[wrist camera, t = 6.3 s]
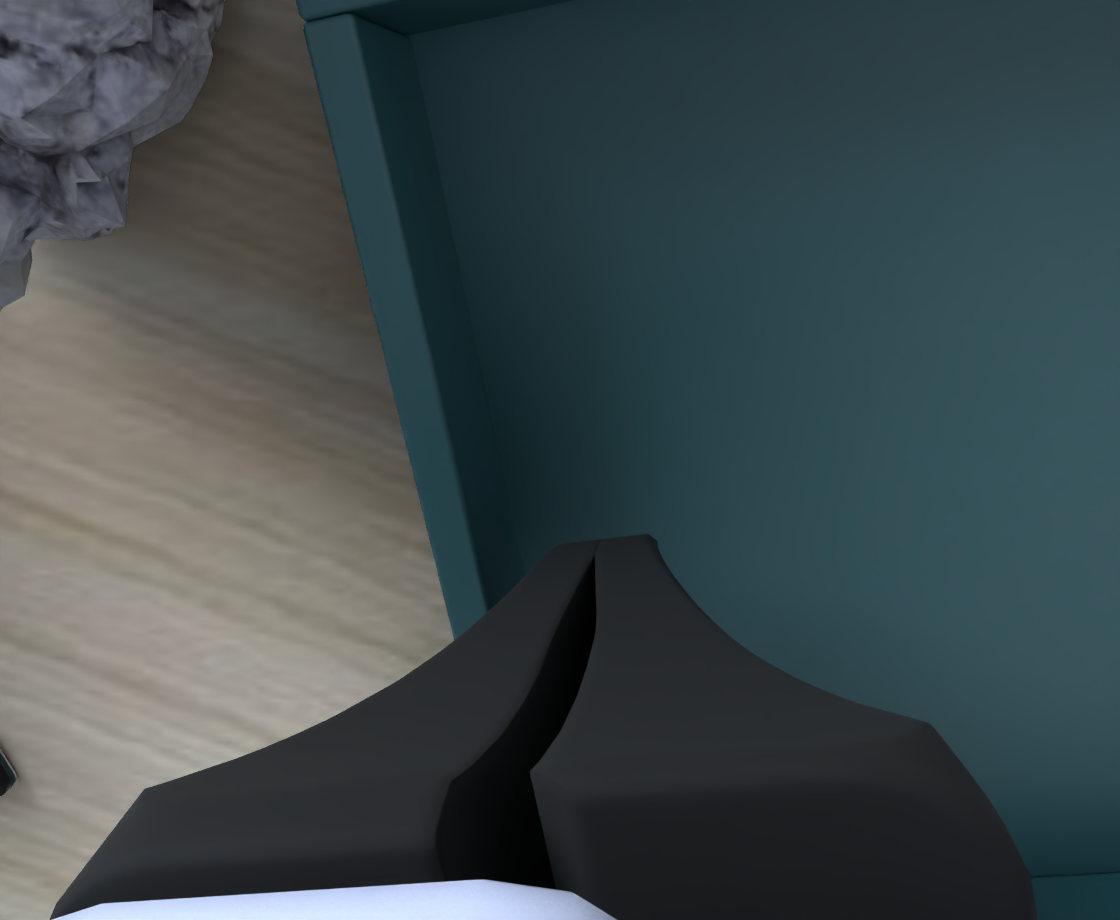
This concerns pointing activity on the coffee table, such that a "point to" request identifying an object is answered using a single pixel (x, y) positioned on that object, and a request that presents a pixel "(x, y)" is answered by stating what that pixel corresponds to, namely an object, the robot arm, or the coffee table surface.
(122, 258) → the coffee table surface
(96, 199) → the mineral specimen
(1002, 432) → the tray
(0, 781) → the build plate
